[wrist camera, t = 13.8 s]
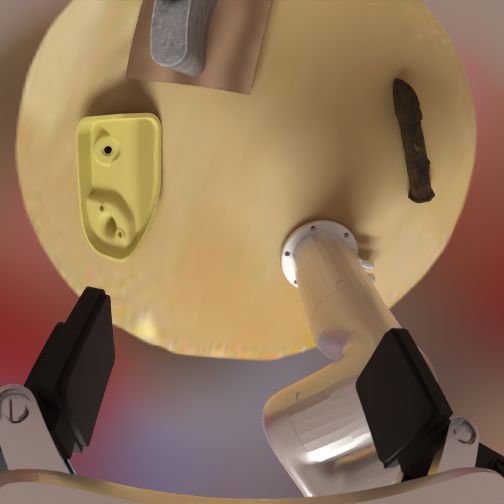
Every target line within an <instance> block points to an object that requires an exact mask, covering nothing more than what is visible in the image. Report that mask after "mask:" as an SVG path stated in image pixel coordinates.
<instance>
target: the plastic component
mask: <svg viewBox="0 0 504 504" xmlns="http://www.w3.org/2000/svg"><path fill="white" fill-rule="evenodd" d="M161 144H162V127H161V123H160V121H159V119H158V118H157V116H155V115H154V114H151V113H130V114H113V115H102V116H92V117H85V118H83V119H82V120H81V121H80V122H79V123H78V126H77V129H76V167H77V184H78V198H79V208H80V217H81V223H82V228H83V232H84V235H85V238H86V240H87V242H88V244H89V245H90V247H91V248H92V249H93V251H94V252H95V253H96V254H98V255H99V256H101V257H103V258H105V259H108V260H111V261H115V262H118V263H124V262H127V261H128V260H129V259H130V258H131V257H132V256H133V255H134V254H135V252H136V251H137V250H138V248H139V247H140V245H141V244H142V242H143V240H144V238H145V236H146V235H147V233H148V230H149V228H150V226H151V224H152V221H153V218H154V215H155V212H156V209H157V205H158V201H159V195H160V188H161ZM106 146H110V147H111V148H112V152H111V153H109V154H107V153H105V151H104V148H105V147H106ZM103 208H104V209H103ZM121 233H122V234H121Z"/></svg>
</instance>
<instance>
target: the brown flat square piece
mask: <svg viewBox="0 0 504 504" xmlns="http://www.w3.org/2000/svg"><path fill="white" fill-rule="evenodd" d="M154 2H155V0H143V2H142V5H141V9H140V13H139V17H138V21H137V25H136V29H135V33H134V37H133V42H132V46H131V51H130V56H129V61H128V66H127V71H126V77H125V79H133V80H147V81H158V82H168V83H177V84H185V85H193V86H200V87H207V88H214V89H220V90H226V91H231V92H237V93H242V94H247V95H250V91H251V86H252V82H253V77H254V73H255V69H256V65H257V60H258V56H259V52H260V48H261V44H262V39H263V35H264V31H265V27H266V23H267V19H268V15H269V11H270V7H271V3H272V0H217V2H216V4H215V7H214V10H213V13H212V16H211V20H210V24H209V29H208V33H207V40H206V50H205V69H204V71H203V72H202V73H201V74H199V75H197V76H189V75H187V74H184V73H181V72H179V71H176V70H173V69H170V68H168V67H165V66H162V65H159V64H157V63H156V62H155V61H154V60H153V58H152V56H151V52H150V38H151V22H152V14H153V8H154Z"/></svg>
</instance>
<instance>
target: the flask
mask: <svg viewBox="0 0 504 504" xmlns="http://www.w3.org/2000/svg"><path fill="white" fill-rule="evenodd" d="M216 2H217V0H155V2H154V8H153V14H152V22H151V38H150V52H151V56H152V58H153V60H154V61H155V62H156V63H157V64H159V65H162V66H165V67H168V68H170V69H173V70H176V71H179V72H181V73H184V74H187V75H189V76H197V75H199V74H201V73H202V72H203V71H204V69H205V50H206V40H207V33H208V29H209V24H210V20H211V16H212V13H213V10H214V7H215V4H216Z"/></svg>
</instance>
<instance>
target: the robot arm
mask: <svg viewBox="0 0 504 504" xmlns="http://www.w3.org/2000/svg"><path fill="white" fill-rule="evenodd" d="M312 226H313V227H312ZM311 227H312V228H311ZM345 233H346V234H345ZM286 251H288V252H286ZM280 260H281V267H282V271H283V273H284V275H285V277H286V278H287V280H288V281H289V282H290V283H291V284H292V285H293V286H295V287H297V288H298V289H299V292H300V296H301V299H302V302H303V306H304V309H305V313H306V316H307V319H308V323H309V326H310V329H311V333H312V336H313V339H314V341H315V344H316V345H317V347H318V348H319V349H320V350H321V351H322V352H323V353H324V354H325V355H326V356H327V357H329V358H330V359H332V360H334V361H335V362H333V363H331V364H330V365H328V366H326V367H325V368H323V369H322V370H320V371H318V372H316V373H314V374H312V375H310V376H308V377H306V378H304V379H303V380H300V381H298V382H296V383H295V384H292V385H291V386H289V387H287V388H285V389H283V390H281V391H280V392H278V393H276V394H275V395H273V396H272V397H271V398H270V399H269V400H268V401H267V402H266V404H265V406H264V408H263V413H262V422H263V428H264V431H265V434H266V437H267V439H268V441H269V443H270V445H271V447H272V449H273V450H274V452H275V454H276V456H277V457H278V459H279V460H280V461H281V463H282V465H283V466H284V468H285V469H286V470H287V472H288V473H289V475H290V476H291V478H292V479H293V480H294V482H295V483H296V485H297V486H298V487H299V489H300V490H301V491H302V493H303V494H304V496H305V497H301V498H284V499H230V498H212V497H200V496H188V495H181V494H173V493H165V492H159V491H152V490H146V489H140V488H135V487H129V486H124V485H120V484H114V483H111V482H106V481H102V480H97V479H92V478H88V477H84V476H79V475H76V474H75V472H74V470H73V468H72V466H71V464H70V463H69V460H68V459H70V458H71V456H72V452H73V451H76V452H79V453H82V450H83V446H89V444H90V441H91V437H92V433H93V430H94V426H95V422H96V419H97V416H98V412H99V409H100V406H101V402H102V399H103V396H104V392H105V389H106V386H107V383H108V380H109V377H110V374H111V370H112V368H113V365H114V360H115V349H114V340H113V329H112V316H111V300H110V296H109V295H105V291H104V290H103V289H98V288H93V287H86V288H85V290H84V292H83V293H82V295H81V297H80V298H79V300H78V302H77V304H76V305H75V307H74V309H73V310H72V312H71V314H70V315H69V317H68V319H67V321H66V322H65V323H63V322H59V323H58V324H57V325H56V326H55V328H54V330H53V331H52V334H51V335H50V337H49V339H48V340H47V342H46V344H45V346H44V348H43V349H42V351H41V353H40V355H39V357H38V359H37V361H36V363H35V364H34V367H33V368H32V370H31V372H30V374H29V376H28V378H27V380H26V382H25V384H24V386H22V385H17V384H10V385H6V386H3V387H1V388H0V504H504V457H503V456H502V455H500V454H499V453H496V452H495V451H493V450H491V449H490V448H488V447H486V446H485V445H483V444H481V443H479V433H478V429H477V428H476V426H475V425H474V424H473V423H472V421H470V420H469V419H467V418H465V417H455V418H454V419H452V421H450V419H449V417H450V416H451V415H452V414H453V412H452V410H451V408H450V406H449V404H448V402H447V400H446V398H445V396H444V394H443V392H442V390H441V388H440V387H439V385H438V383H437V378H436V374H435V372H434V369H433V367H432V366H431V364H430V362H429V360H428V359H427V357H426V356H425V355H424V353H423V352H422V351H421V350H420V349H419V347H418V346H417V345H416V344H415V342H414V340H413V339H412V337H411V335H410V334H409V332H408V331H407V330H406V329H403V328H401V326H400V325H399V324H398V322H397V321H396V320H395V318H394V317H393V315H392V313H391V312H390V310H389V309H388V307H387V306H386V304H385V303H384V301H383V299H382V298H381V296H380V294H379V293H378V291H377V290H376V288H375V286H374V285H373V283H374V281H375V276H374V274H372V273H366V272H365V271H364V269H370V270H371V269H372V268H373V265H374V263H373V261H369V260H362V259H361V258H360V256H359V255H358V246H357V242H356V240H355V237H354V236H353V235H352V233H351V232H350V231H349V230H348V229H347V228H346V227H345V226H344V225H342V224H340V223H338V222H336V221H331V220H316V221H311V222H309V223H306V224H304V225H302V226H300V227H299V228H297V229H296V230H295V231H294V232H292V234H291V235H290V236H289V237H288V238H287V240H286V242H285V243H284V245H283V248H282V251H281V258H280ZM363 268H364V269H363ZM373 444H374V445H373ZM371 445H372V446H371ZM369 446H370V447H369ZM363 448H365V449H363ZM361 449H363V450H361ZM359 450H361V451H359ZM356 451H358V452H356ZM354 452H356V453H354ZM351 453H354V454H352V455H349V454H351Z"/></svg>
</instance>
